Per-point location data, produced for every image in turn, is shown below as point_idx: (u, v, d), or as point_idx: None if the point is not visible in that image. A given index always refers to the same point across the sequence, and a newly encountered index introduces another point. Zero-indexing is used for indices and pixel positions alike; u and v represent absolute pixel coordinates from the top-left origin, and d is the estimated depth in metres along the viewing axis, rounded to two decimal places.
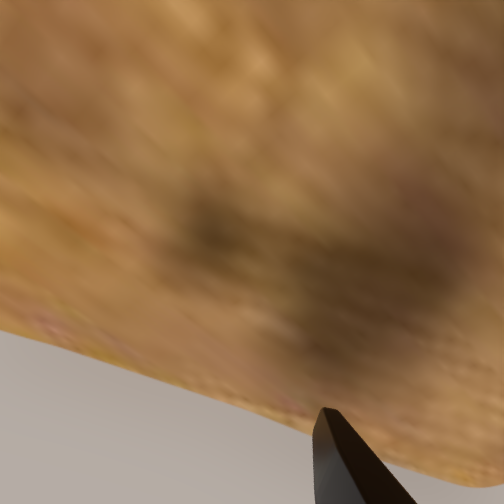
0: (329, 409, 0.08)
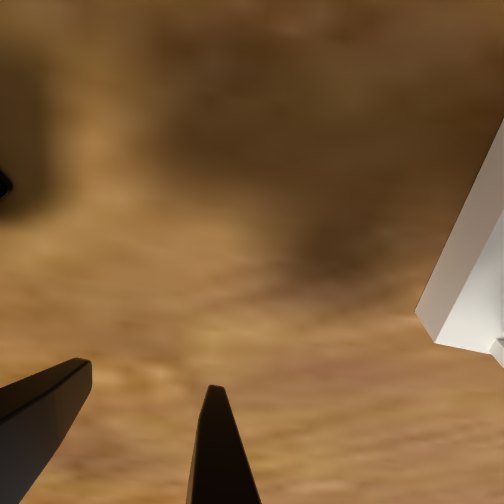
0: (214, 386, 0.08)
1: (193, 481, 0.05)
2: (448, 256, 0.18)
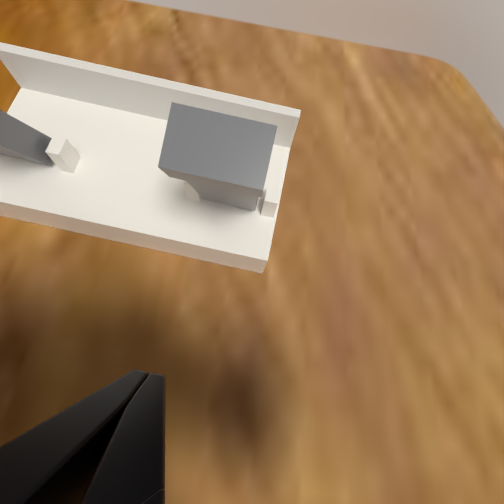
0: (154, 374, 0.08)
1: (99, 462, 0.05)
2: (202, 256, 0.22)
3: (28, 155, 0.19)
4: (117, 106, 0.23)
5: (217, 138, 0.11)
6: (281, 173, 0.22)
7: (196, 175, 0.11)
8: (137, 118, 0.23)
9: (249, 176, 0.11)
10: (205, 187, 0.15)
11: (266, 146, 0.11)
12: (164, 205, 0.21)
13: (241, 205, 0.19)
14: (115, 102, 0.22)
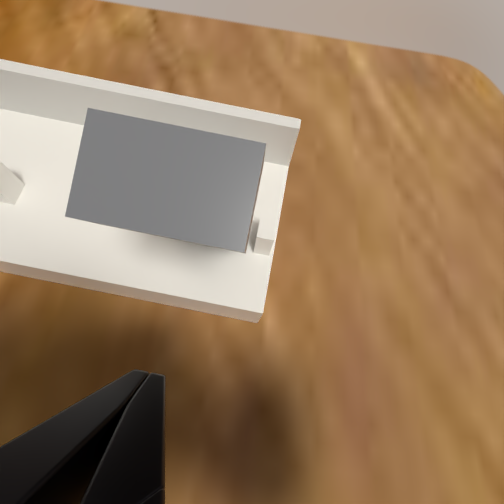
0: (154, 374, 0.08)
1: (99, 462, 0.05)
2: (180, 305, 0.18)
3: None
4: (74, 120, 0.18)
5: (164, 166, 0.07)
6: (278, 198, 0.18)
7: (131, 229, 0.07)
8: None
9: (220, 229, 0.07)
10: None
11: (248, 178, 0.07)
12: (129, 243, 0.16)
13: None
14: (70, 115, 0.18)
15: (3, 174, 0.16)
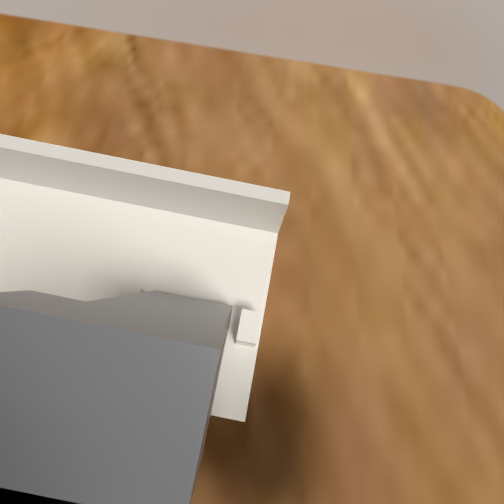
0: None
1: None
2: None
3: None
4: (31, 181, 0.16)
5: (64, 386, 0.04)
6: (265, 273, 0.16)
7: (10, 484, 0.04)
8: (60, 196, 0.16)
9: (148, 486, 0.04)
10: None
11: (193, 403, 0.04)
12: None
13: None
14: (26, 177, 0.16)
15: None
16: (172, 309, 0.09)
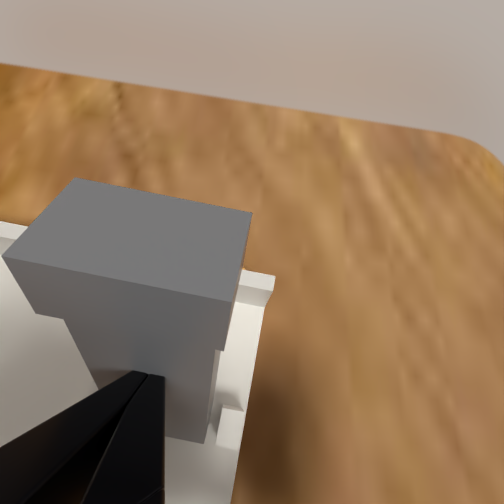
0: None
1: (99, 462, 0.05)
2: None
3: None
4: (2, 253, 0.15)
5: (144, 221, 0.06)
6: (251, 354, 0.15)
7: (86, 275, 0.05)
8: None
9: (202, 277, 0.05)
10: (115, 370, 0.08)
11: (235, 236, 0.06)
12: None
13: (180, 429, 0.11)
14: None
15: None
16: None
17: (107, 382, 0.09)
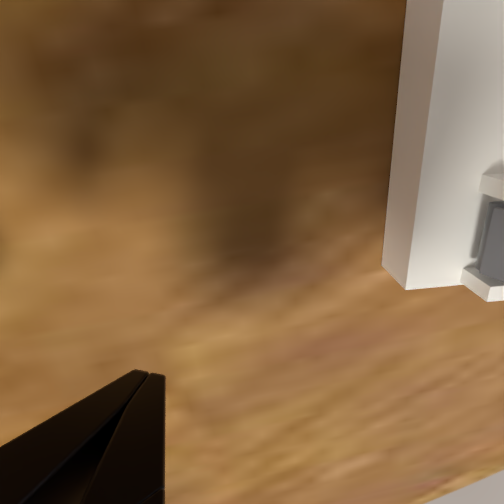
0: (154, 374, 0.08)
1: (99, 462, 0.05)
2: (394, 201, 0.18)
3: None
4: None
5: None
6: None
7: None
8: None
9: None
10: None
11: None
12: (470, 147, 0.15)
13: None
14: None
15: None
16: None
17: None
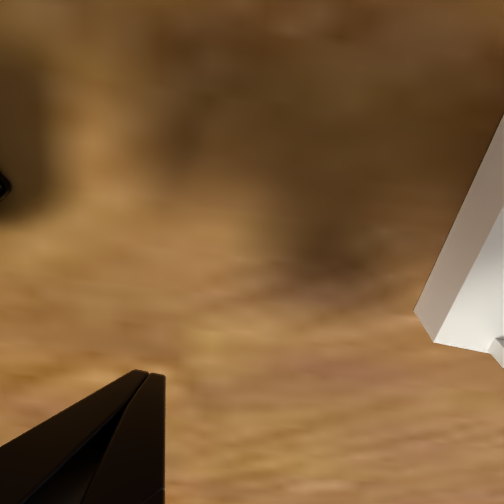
0: (154, 374, 0.08)
1: (99, 462, 0.05)
2: (447, 256, 0.18)
3: None
4: None
5: None
6: None
7: None
8: None
9: None
10: None
11: None
12: None
13: None
14: None
15: None
16: None
17: None
